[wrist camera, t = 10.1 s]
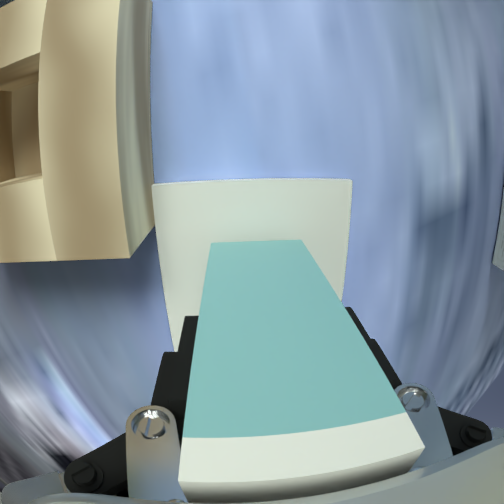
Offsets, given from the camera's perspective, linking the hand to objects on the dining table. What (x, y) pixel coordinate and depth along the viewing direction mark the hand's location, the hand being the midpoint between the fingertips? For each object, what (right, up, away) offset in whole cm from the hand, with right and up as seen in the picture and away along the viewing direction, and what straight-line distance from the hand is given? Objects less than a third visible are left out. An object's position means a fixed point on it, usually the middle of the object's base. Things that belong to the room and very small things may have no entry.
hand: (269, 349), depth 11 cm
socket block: (-12, +10, +3) cm, 16 cm away
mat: (0, +2, +6) cm, 7 cm away
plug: (0, +2, +5) cm, 6 cm away
